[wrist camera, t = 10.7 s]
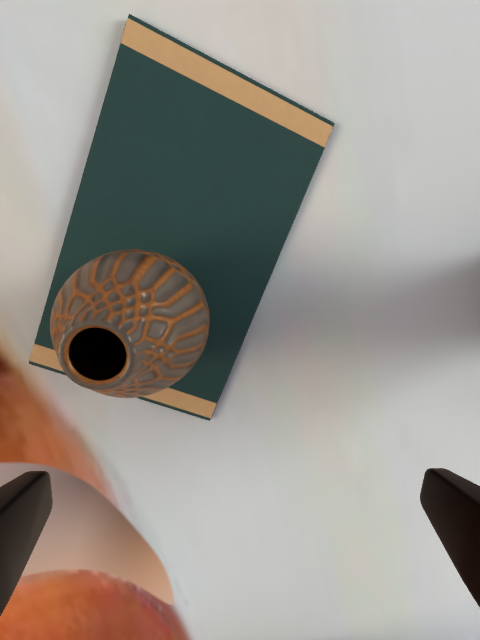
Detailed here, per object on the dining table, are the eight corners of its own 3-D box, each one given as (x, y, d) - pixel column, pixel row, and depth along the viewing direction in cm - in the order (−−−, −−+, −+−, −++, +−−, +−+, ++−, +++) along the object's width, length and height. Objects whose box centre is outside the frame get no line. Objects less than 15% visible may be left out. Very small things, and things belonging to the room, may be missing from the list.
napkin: (332, 125, 16) (335, 122, 16) (209, 418, 20) (209, 420, 19) (130, 18, 14) (128, 12, 14) (31, 361, 18) (28, 363, 17)
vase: (86, 346, 18) (-36, 428, 9) (109, 236, 16) (-7, 210, 8) (194, 372, 18) (176, 469, 10) (224, 271, 17) (231, 282, 9)
